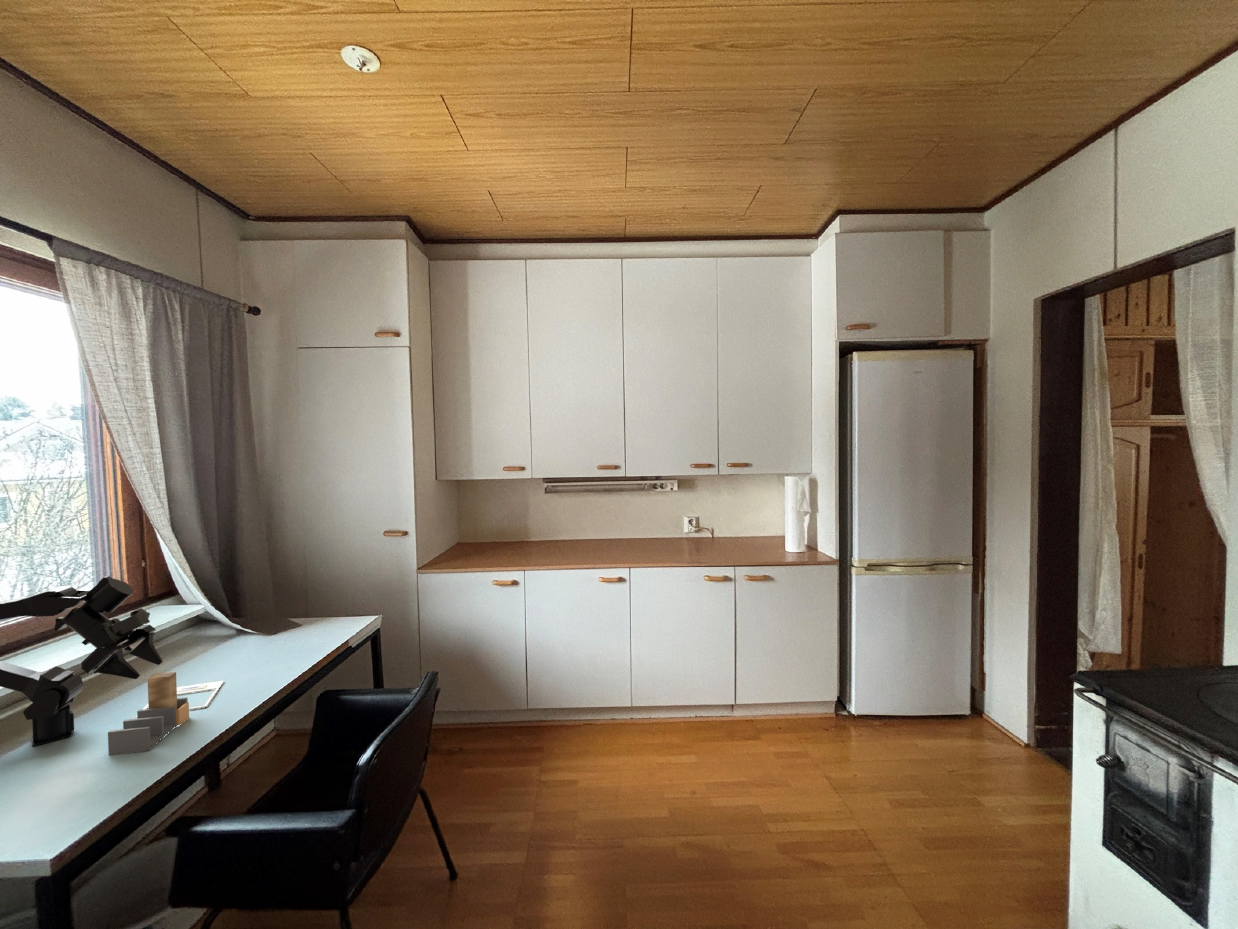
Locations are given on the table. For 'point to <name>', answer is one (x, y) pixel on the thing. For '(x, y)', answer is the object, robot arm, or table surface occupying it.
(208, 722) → the table surface
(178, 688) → the photo frame
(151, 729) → the rack
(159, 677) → the wooden block
